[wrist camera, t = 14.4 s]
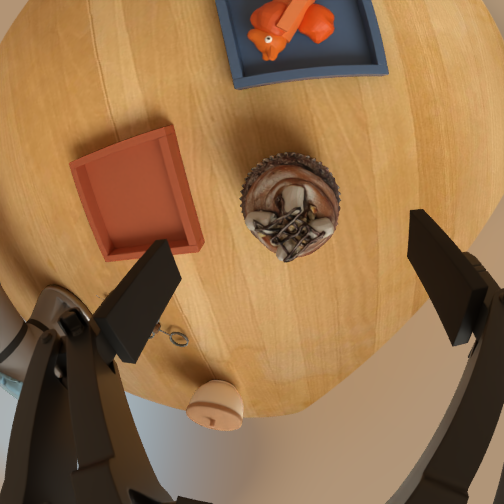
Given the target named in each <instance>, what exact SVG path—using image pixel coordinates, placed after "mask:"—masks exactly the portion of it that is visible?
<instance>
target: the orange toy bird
mask: <svg viewBox="0 0 504 504" xmlns="http://www.w3.org/2000/svg"><path fill="white" fill-rule="evenodd" d="M314 2H315V0H273V1H271V2H268V3H266V4H264V5H263V6H261V7H260V8H258V9H256V10H255V11H254V12H253V13H252V15H251V18H250V21H251V24H252V25H253V27H254V28H255V29H251V30H250V31H249V32H248V33H247V37H248V38H249V40H251V41H252V42H253V43H254V44H255V46H256V48H257V49H258V50H259V51H260V52H262V59H263V60H265V61H268V60H272V61H273V60H275V59H276V58H277V56H278V54H279V53H280V52H281V51H283V50H284V48H285V47H286V43H289V42H290V41H291V39H292V37H293V36H294V34H295V32H296V31H297V29H298V30H299V32H300V33H302V34H305V35H306V36H308V37H309V38H310V39H311V40H312V41H313V42H315V43H317V44H319V43H321V42H322V41H324V40H326V39H327V38H328V37H329V36H330V35H331V34H332V33H333V32H334V15H333V13H332V12H331V11H330V10H329V9H327V8H326V7H324V6H322V5H319V4H313V3H314Z"/></svg>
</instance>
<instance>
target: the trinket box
mask: <svg viewBox="0 0 504 504" xmlns="http://www.w3.org/2000/svg"><path fill="white" fill-rule="evenodd" d="M186 414H187V416H188V417H189V418H190V419H191V420H192V421H194V422H195V423H197V424H199V425H201V426H204V427H207V428H211V429H215V430H222V431H231V430H236V429H238V428H240V427H241V425H242V417H243V401H242V397H241V395H240V394H239V392H238V391H237V390H236V388H235V386H233V385H232V384H230V383H228V382H226V381H222V380H211V381H209V382H208V383H205V384H203V385H201V386H200V387H199V388H198V389H197V390H196V391H195V392H194V394H193V396H192V398H191V400H190V402H189V405H188V407H187V409H186Z"/></svg>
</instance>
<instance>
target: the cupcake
mask: <svg viewBox="0 0 504 504" xmlns="http://www.w3.org/2000/svg"><path fill="white" fill-rule="evenodd" d="M251 170H252V172H249V173H248V177H246V178H245V181H246V182H245V183H244V184H243V185H242V187H243V188H244V189H242V190H241V191H240V192H241V193H242V197H241V198H240V200H241V201H242V204H241V205H240V207H242V213H243V216H244V220H245V224H246V226H247V227H248V229H249V230H250V231H251V233H252V234H253V235H254V236H255V237H256V238H257V239H259V241H260V242H261V243H262V244H264V245H265V246H266V247H267V248H268V249H269V250H270V251H272V252H274V253H276V256H277V258H278V259H279V260H281V261H284V262H290V261H293V260H294V259H295V258H297V257H302V256H306V255H309V254H311V253H313V252H314V251H316V250H317V249H319V248H320V247H321V246H322V245H323V244H324V243H326V242H327V241H328V240H329V239H330V238H331V236H332V235H333V233H334V231H335V230H336V226H337V225H338V223H337V221H338V216H339V211H340V206H339V202H340V201H341V200H340V198H339V195H340V192H339V191H338V189H339V186H338V185H337V184H336V183H335V178H334V177H333V176H332V173H331V172H329V170H328V167H325V166H323V165H322V162H318V161H316V159H315V158H310V156H309V155H308V156H305V155H302V154H300V153H292V152H285V153H278V154H277V155H275V156H274V155H271V156H270V158H265V159H263V162H260V163H257V167H254V168H252V169H251Z"/></svg>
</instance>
